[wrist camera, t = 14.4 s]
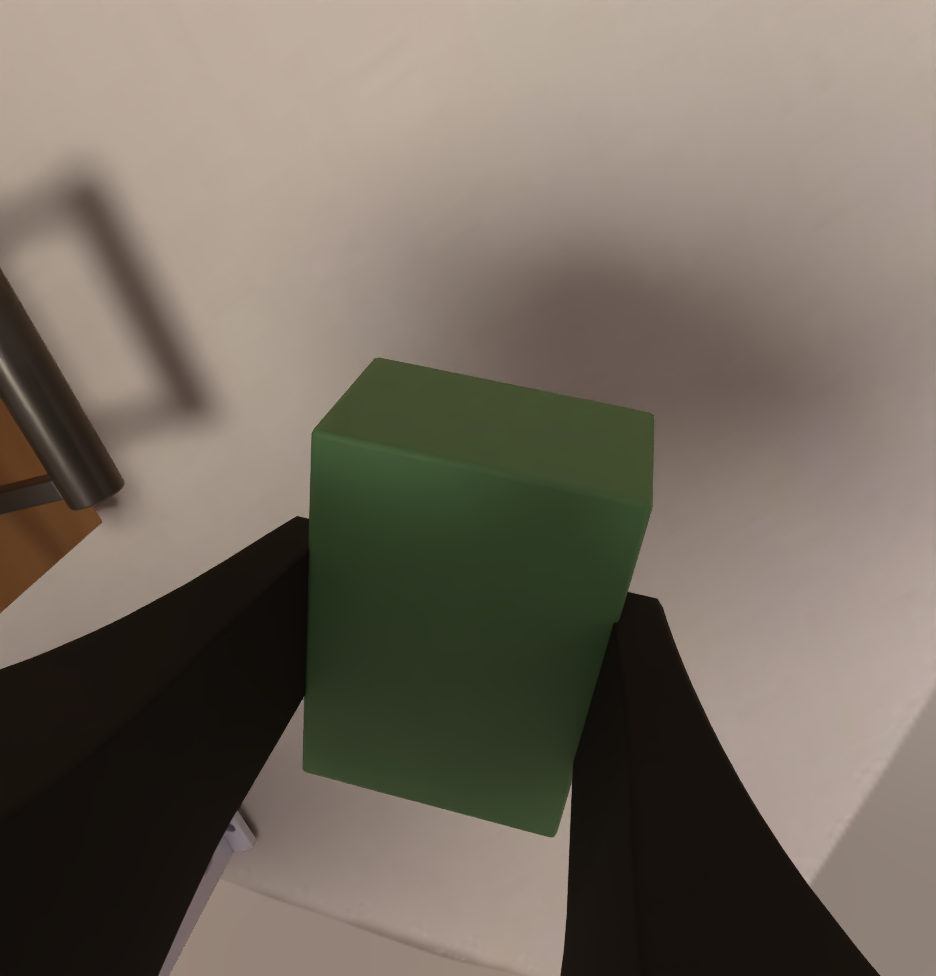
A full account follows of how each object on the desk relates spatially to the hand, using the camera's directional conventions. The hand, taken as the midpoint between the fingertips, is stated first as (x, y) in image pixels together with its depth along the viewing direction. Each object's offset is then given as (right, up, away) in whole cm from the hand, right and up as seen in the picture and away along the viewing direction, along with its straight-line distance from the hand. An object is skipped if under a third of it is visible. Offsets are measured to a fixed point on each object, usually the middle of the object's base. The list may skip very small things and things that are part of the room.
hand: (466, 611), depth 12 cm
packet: (0, +1, +1) cm, 1 cm away
